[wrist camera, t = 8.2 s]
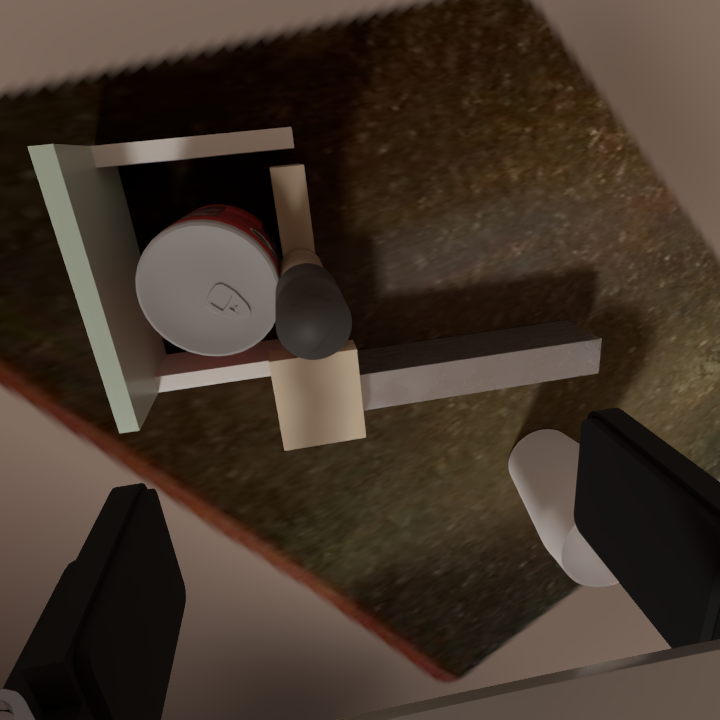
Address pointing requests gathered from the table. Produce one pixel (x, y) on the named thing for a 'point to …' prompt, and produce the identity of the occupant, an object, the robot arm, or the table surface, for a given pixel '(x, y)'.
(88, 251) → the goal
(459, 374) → the rail
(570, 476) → the cup
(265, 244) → the canned food
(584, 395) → the table surface
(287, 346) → the kicker figure
